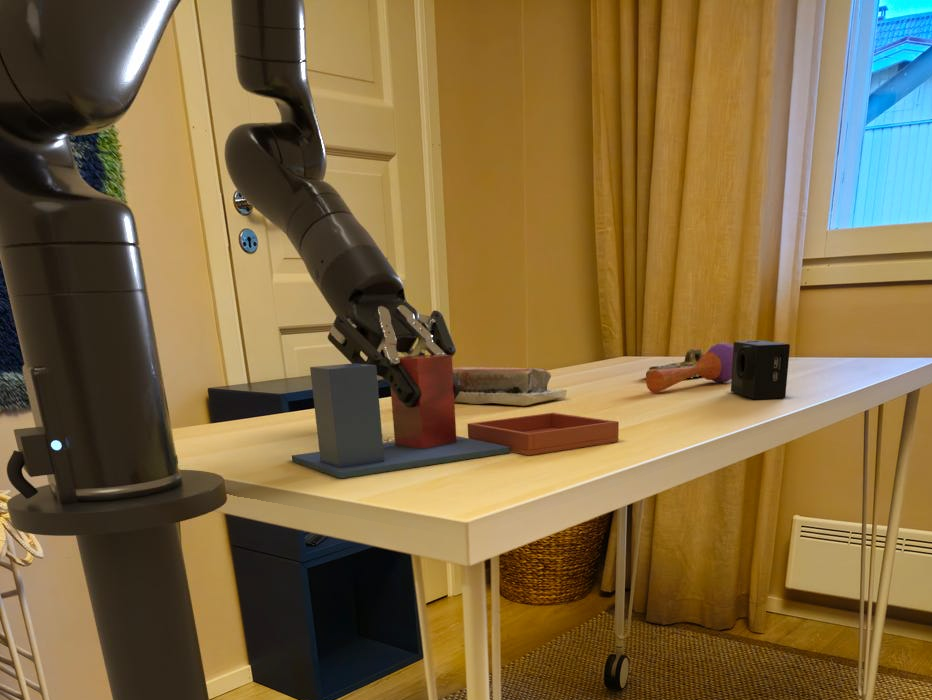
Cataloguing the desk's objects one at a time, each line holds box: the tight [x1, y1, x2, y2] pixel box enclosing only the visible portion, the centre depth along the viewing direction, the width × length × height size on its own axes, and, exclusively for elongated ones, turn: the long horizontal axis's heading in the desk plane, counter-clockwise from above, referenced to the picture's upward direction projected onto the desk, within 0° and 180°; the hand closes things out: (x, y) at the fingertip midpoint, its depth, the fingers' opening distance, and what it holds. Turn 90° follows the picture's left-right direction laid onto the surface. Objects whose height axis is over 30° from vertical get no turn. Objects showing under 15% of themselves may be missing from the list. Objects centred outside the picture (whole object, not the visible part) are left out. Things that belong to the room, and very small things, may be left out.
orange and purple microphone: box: [645, 342, 734, 394], centre depth 132 cm, size 6×6×20 cm
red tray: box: [467, 412, 620, 456], centre depth 88 cm, size 11×11×2 cm
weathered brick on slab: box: [453, 366, 567, 407], centre depth 125 cm, size 18×5×10 cm
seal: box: [645, 348, 704, 379], centre depth 148 cm, size 9×5×15 cm
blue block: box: [309, 363, 384, 468], centre depth 78 cm, size 4×4×8 cm
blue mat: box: [291, 435, 511, 479], centre depth 84 cm, size 18×12×1 cm, turn 122°
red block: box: [389, 354, 457, 449], centre depth 86 cm, size 4×4×8 cm
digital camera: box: [730, 340, 791, 400], centre depth 117 cm, size 10×5×7 cm, turn 2°
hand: (435, 398), depth 84 cm, fingers closed on red block, 4 cm apart
